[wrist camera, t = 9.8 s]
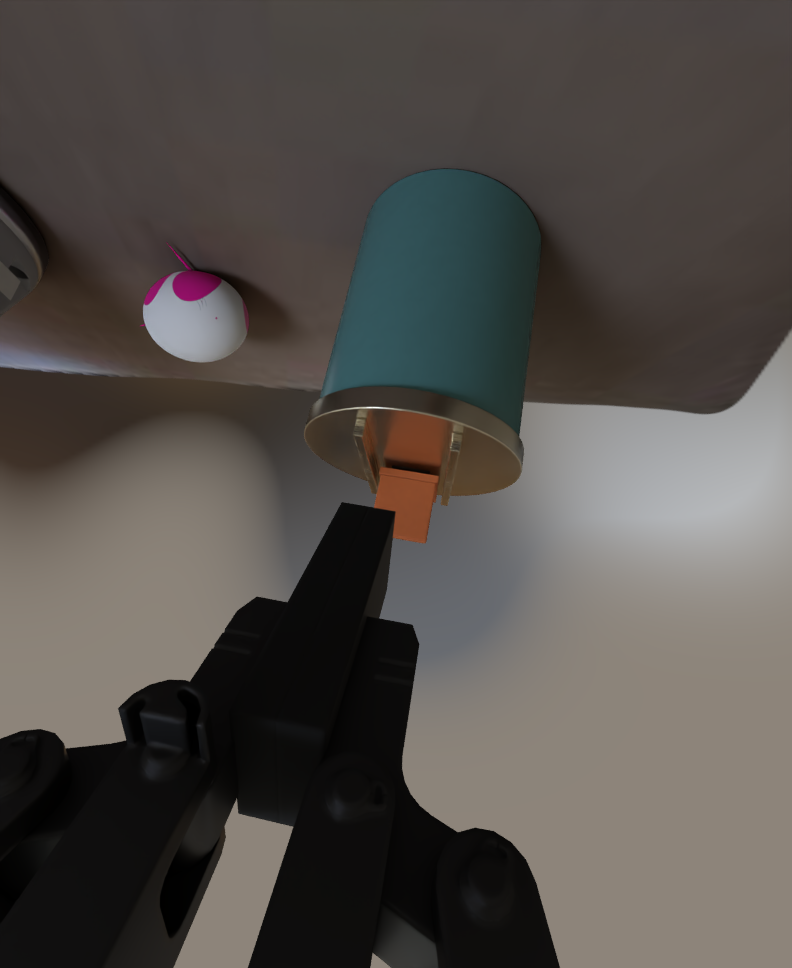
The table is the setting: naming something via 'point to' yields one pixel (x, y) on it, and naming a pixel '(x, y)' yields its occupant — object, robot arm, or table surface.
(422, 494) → the slider
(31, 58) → the table surface
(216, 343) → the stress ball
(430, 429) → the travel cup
